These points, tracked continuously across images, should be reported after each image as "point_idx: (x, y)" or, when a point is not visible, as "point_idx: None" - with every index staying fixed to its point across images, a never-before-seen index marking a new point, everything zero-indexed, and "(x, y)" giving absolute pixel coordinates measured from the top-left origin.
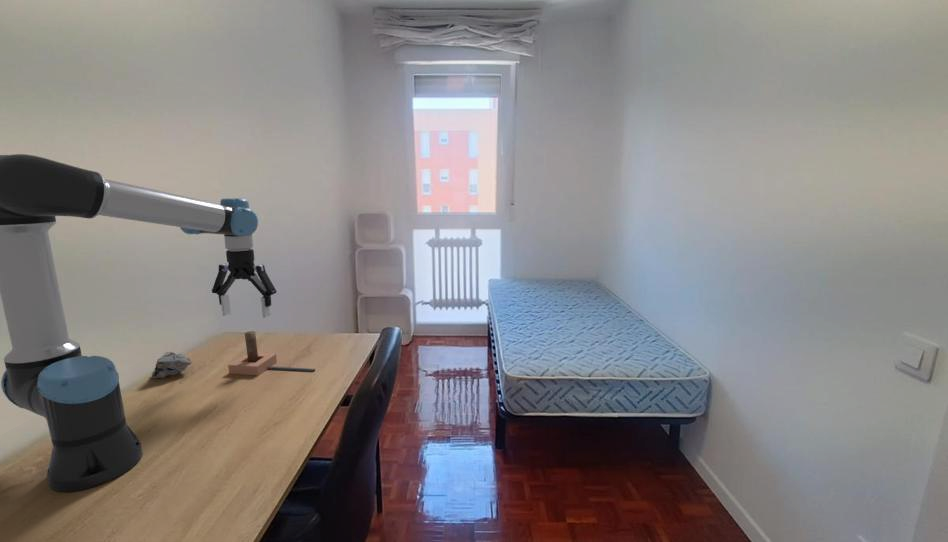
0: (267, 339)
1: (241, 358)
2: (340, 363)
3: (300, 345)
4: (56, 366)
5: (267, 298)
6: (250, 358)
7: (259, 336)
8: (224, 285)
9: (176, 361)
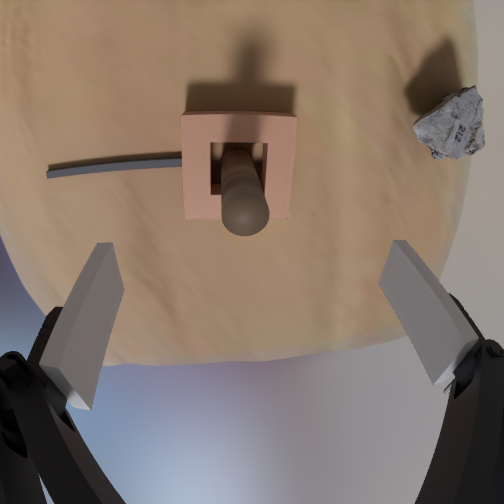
0: (306, 327)
1: (282, 170)
2: (27, 227)
3: (195, 310)
4: None
5: (31, 361)
6: (236, 157)
7: (334, 335)
8: (489, 430)
9: (444, 104)
